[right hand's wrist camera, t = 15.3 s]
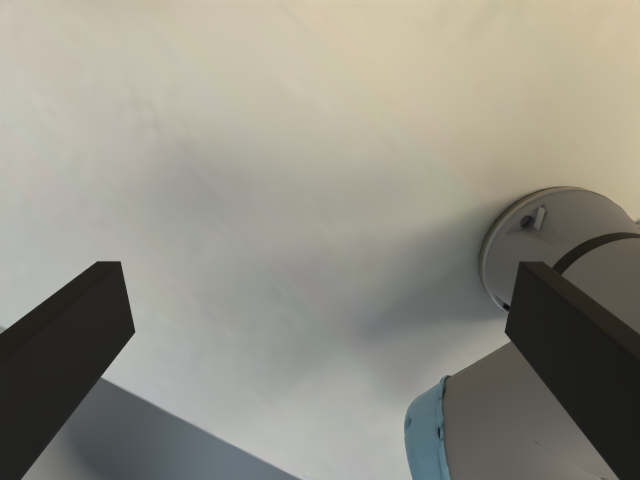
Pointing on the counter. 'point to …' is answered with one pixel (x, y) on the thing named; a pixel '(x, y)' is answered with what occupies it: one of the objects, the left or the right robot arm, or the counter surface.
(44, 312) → the right robot arm
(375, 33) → the counter surface
